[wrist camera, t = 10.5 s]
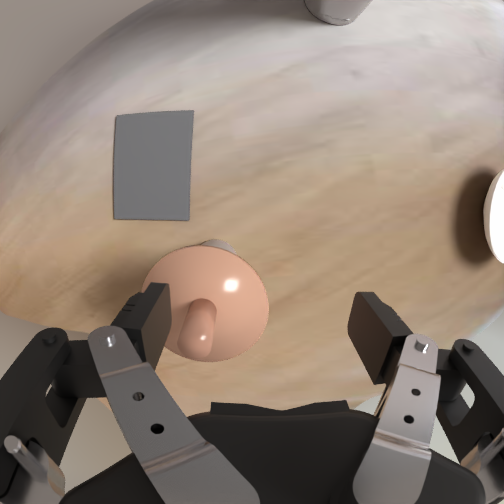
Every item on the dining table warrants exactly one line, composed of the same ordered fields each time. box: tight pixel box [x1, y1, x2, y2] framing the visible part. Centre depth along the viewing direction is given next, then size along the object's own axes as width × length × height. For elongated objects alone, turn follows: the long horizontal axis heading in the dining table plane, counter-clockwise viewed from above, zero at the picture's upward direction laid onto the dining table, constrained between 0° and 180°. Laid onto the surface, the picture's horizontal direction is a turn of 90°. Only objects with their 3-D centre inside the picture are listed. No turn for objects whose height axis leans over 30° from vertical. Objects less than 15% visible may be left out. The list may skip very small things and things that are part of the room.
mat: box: [114, 110, 194, 220], centre depth 38 cm, size 16×12×1 cm
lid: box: [141, 245, 269, 362], centre depth 25 cm, size 13×13×7 cm
